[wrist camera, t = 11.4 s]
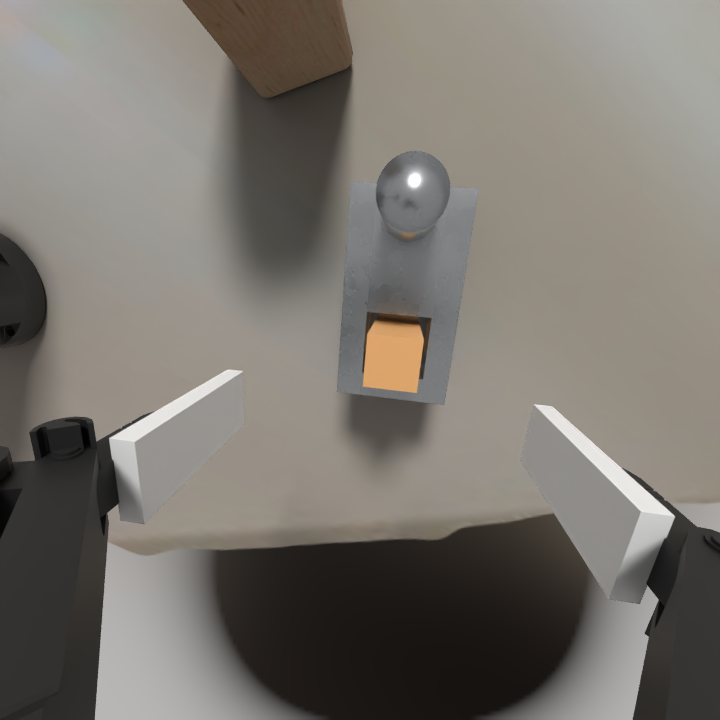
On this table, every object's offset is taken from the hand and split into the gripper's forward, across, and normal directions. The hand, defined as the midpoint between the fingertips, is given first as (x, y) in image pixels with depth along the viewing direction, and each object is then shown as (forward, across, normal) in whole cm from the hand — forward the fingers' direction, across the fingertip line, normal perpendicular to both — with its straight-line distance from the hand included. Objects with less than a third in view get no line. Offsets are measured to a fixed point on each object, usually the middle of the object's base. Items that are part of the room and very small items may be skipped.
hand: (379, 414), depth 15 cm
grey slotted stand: (+24, +1, +4) cm, 24 cm away
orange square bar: (+23, +1, 0) cm, 23 cm away
